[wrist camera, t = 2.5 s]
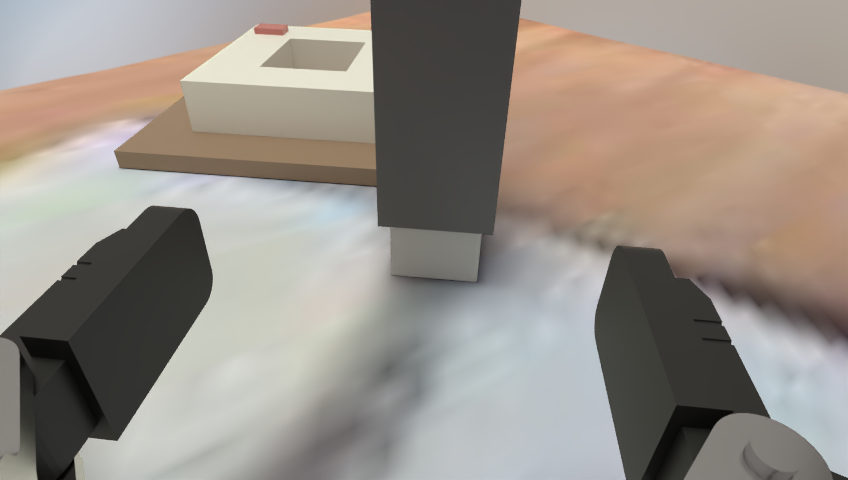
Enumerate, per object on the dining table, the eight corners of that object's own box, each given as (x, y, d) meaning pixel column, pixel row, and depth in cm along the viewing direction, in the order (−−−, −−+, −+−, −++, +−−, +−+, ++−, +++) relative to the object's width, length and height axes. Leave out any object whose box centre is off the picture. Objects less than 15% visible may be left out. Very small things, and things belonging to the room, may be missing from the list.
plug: (487, 218, 26) (517, -54, 19) (486, 290, 22) (524, -28, 15) (398, 211, 27) (396, -59, 20) (379, 281, 22) (369, -34, 15)
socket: (461, 76, 43) (464, 18, 40) (445, 190, 28) (449, 111, 26) (242, 64, 44) (232, 7, 42) (119, 167, 30) (92, 89, 27)
